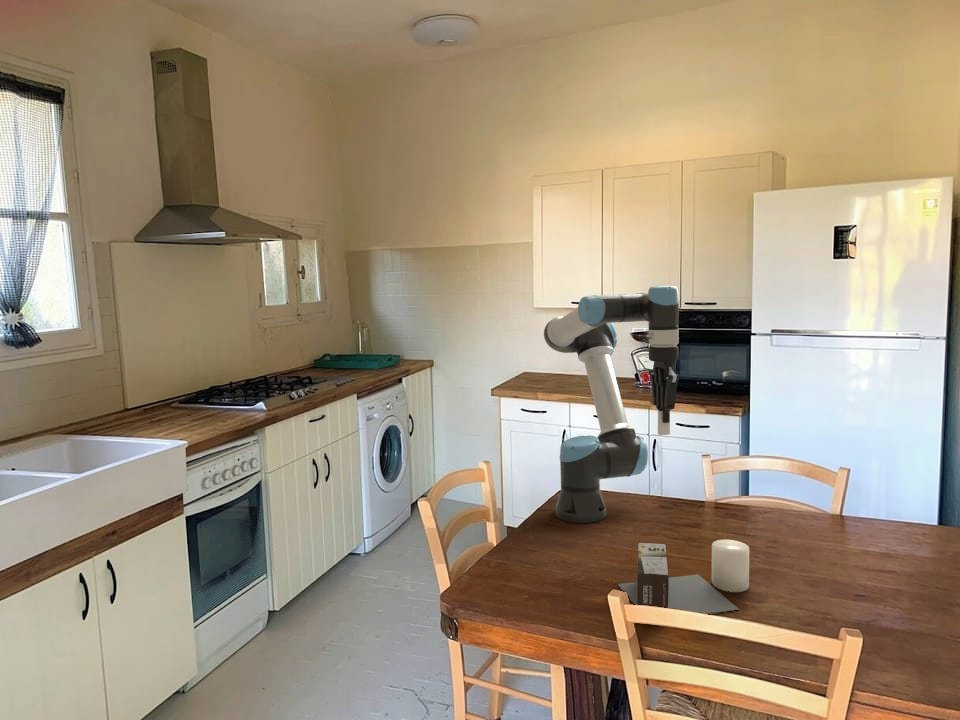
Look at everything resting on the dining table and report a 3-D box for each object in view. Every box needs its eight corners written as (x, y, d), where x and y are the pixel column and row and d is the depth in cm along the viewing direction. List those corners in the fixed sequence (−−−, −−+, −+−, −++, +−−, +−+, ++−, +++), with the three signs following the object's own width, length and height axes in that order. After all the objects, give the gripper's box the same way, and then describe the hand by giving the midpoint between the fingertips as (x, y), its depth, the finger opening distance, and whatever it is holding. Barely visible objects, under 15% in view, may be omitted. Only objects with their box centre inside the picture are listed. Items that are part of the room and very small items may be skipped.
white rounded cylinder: (705, 578, 153) (705, 541, 152) (736, 574, 154) (736, 538, 153) (723, 594, 145) (723, 555, 144) (756, 589, 146) (756, 551, 145)
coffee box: (637, 542, 152) (637, 571, 136) (665, 543, 150) (668, 573, 135) (637, 579, 153) (637, 613, 137) (665, 581, 151) (668, 615, 136)
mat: (618, 585, 151) (618, 584, 150) (697, 575, 154) (697, 574, 154) (650, 622, 134) (650, 620, 134) (738, 610, 137) (738, 608, 137)
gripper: (639, 344, 175) (640, 429, 178) (661, 348, 162) (661, 440, 165) (665, 342, 176) (665, 427, 179) (689, 347, 163) (689, 438, 166)
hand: (663, 434), depth 172 cm, fingers closed
